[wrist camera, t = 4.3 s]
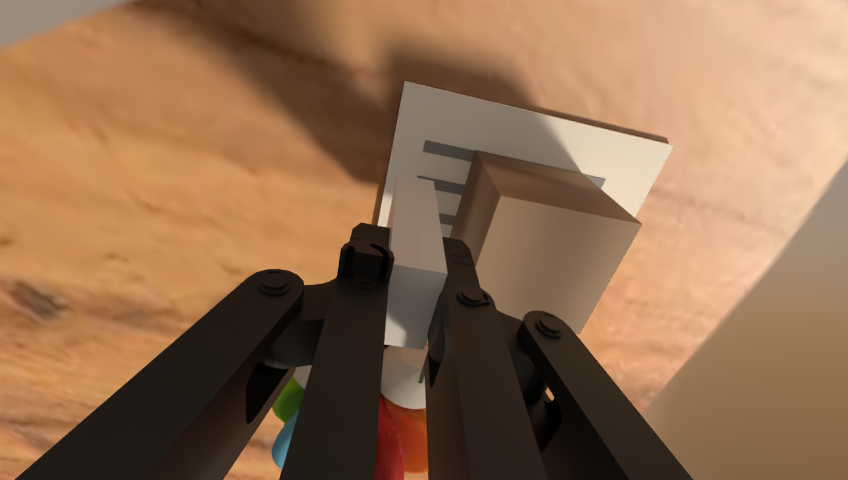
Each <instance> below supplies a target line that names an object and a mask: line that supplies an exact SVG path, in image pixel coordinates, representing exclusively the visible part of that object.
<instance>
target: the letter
mask: <svg viewBox="0 0 848 480" xmlns="http://www.w3.org/2000/svg"><path fill="white" fill-rule="evenodd" d="M673 147H674V146H673V145H671V144H668V143H664V142H660V141H655V140H651V139H647V138H643V137H639V136H635V135H630V134H626V133H622V132H618V131H614V130H609V129H605V128H601V127H597V126H593V125H588V124H584V123H580V122H576V121H572V120H568V119H563V118H559V117H555V116H551V115H547V114H542V113H538V112H534V111H530V110H526V109H521V108H517V107H513V106H509V105H505V104H500V103H496V102H492V101H488V100H484V99H480V98H475V97H471V96H467V95H463V94H459V93H454V92H450V91H446V90H442V89H438V88H433V87H429V86H425V85H421V84H417V83H413V82H408V81H405V82H404V87H403V92H402V98H401V103H400V108H399V113H398V119H397V124H396V129H395V135H394V140H393V145H392V151H391V156H390V161H389V167H388V172H387V177H386V182H385V188H384V193H383V198H382V204H381V209H380V214H379V220H378V225H377V226H382V227H387V222H388V217H389V212H390V207H391V202H392V197H393V192H394V187H395V183H396V178H397V174H401V175H406V176H411V177H416V178H421V179H426V180H431V181H434V187H435V193H436V200H437V206H438V213H439V220H440V226H441V233H442V237H447V238H449V237H450V234H451V231H452V227H453V224H454V220H455V217H456V214H457V210H458V207H459V204H460V200H461V197H462V194H463V190H464V187H465V183H466V180H467V177H468V173H469V170H470V167H471V163H472V160H473V157H474V153H475V150H479V151H483V152H488V153H493V154H497V155H502V156H506V157H511V158H516V159H520V160H525V161H529V162H534V163H538V164H543V165H548V166H552V167H557V168H561V169H566V170H571V171H575V172H580V173H583V174H584V175H585V176H586V177H587V178H589V179H590V180H591V181H592V182H593V183H594V184H596V185H597V186H598V187H599V188H600V189H601V190H603V191H604V192H605V193H606V194H607V195H608V196H610V197H611V198H612V199H613V200H614V201H616V202H617V203H618V204H619V205H620V206H621V207H623V208H624V209H625V210H626V211H627V212H628V213H630V214H631V215H632V216H633V217H634V218H635V216H636V214H637V212H638V210H639V209H640V207H641V205H642V203H643V201H644V199H645V198H646V196H647V194H648V192H649V190H650V189H651V187H652V185H653V183H654V181H655V180H656V178H657V176H658V174H659V172H660V171H661V169H662V167H663V165H664V163H665V161H666V160H667V158H668V156H669V154H670V152H671V151H672V149H673Z"/></svg>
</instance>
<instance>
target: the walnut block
mask: <svg viewBox="0 0 848 480" xmlns="http://www.w3.org/2000/svg"><path fill="white" fill-rule="evenodd" d="M641 226H642V224H641V223H640V222H639V221H638V220H637V219H635V218H634V217H633V216H632V215H631V214H630V213H628V212H627V211H626V210H625V209H624V208H623V207H621V206H620V205H619V204H618V203H617V202H616V201H614V200H613V199H612V198H611V197H610V196H608V195H607V194H606V193H605V192H604V191H603V190H601V189H600V188H599V187H598V186H597V185H596V184H594V183H593V182H592V181H591V180H590V179H589V178H587V177H586V176H585V175H584V174H583V173H580V172H575V171H571V170H566V169H561V168H557V167H552V166H548V165H543V164H538V163H534V162H529V161H525V160H520V159H516V158H511V157H506V156H502V155H497V154H493V153H488V152H483V151H479V150H475V153H474V157H473V160H472V163H471V167H470V170H469V173H468V177H467V180H466V183H465V187H464V190H463V194H462V197H461V200H460V204H459V207H458V210H457V214H456V217H455V220H454V224H453V227H452V231H451V234H450V237H449V238H452V239H458V240H463V242H464V243H465V244H466V245H467V246H468V247H469V248H470V250H471V254H472V259H473V261H474V267H475V269H476V273H477V276H478V280H479V284H480V288H481V289H483V290H485V291H486V292H487V293H488V294H489V295H490V296H491V297H492V299H493V300H494V302H495V306H496V309H497V310H498V311H500V312H502V313H504V314H507V315H509V316H512V317H514V318H517V319H520V320H523V318H524V315H525V314H527V313H528V312H529V311H534V310H538V311H545V312H548V313H551V314H553V315H555V316H557V317H558V318H560V319H561V320H563V321H564V322H565V323H566V324H567V325H568V326H569V327H570V328H571V329H572V330H573V332H574V333H575V334H580V333H581V331H582V329H583V328H584V326H585V324H586V322H587V321H588V319H589V317H590V315H591V313H592V312H593V310H594V308H595V306H596V305H597V303H598V301H599V299H600V298H601V296H602V294H603V292H604V291H605V289H606V287H607V285H608V284H609V282H610V280H611V278H612V277H613V275H614V273H615V271H616V270H617V268H618V266H619V264H620V262H621V261H622V259H623V257H624V255H625V254H626V252H627V250H628V248H629V247H630V245H631V243H632V241H633V240H634V238H635V236H636V234H637V233H638V231H639V229H640V227H641Z"/></svg>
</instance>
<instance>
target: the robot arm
mask: <svg viewBox="0 0 848 480" xmlns="http://www.w3.org/2000/svg"><path fill="white" fill-rule="evenodd" d="M427 338H428V352H427V355H426V358H425V361H424V365H423V368H422V371H421V374H420V377H419V382H418V383H421V384H422V382H423V379H424V377H425V399H426V425H427V452H428V478H429V480H693V479H692V478H691V477H690V475H689V474H688V473H687V472H686V470H685V469H684V468H683V467H682V465H681V464H680V463H679V462H678V460H677V459H676V458H675V457H674V456H673V454H672V453H671V452H670V451H669V449H668V448H667V447H666V446H665V444H664V443H663V442H662V441H661V439H660V438H659V437H658V436H657V434H656V433H655V432H654V431H653V429H652V428H651V427H650V426H649V425H648V424H647V422H646V421H645V420H644V418H643V417H642V416H641V415H640V413H639V412H638V411H637V410H636V408H635V407H634V406H633V405H632V403H631V402H630V401H629V400H628V398H627V397H626V396H625V395H624V394H623V392H622V391H621V390H620V389H619V387H618V386H617V385H616V384H615V382H614V381H613V380H612V379H611V377H610V376H609V375H608V374H607V372H606V371H605V370H604V369H603V368H602V366H601V365H600V364H599V363H598V361H597V360H596V359H595V358H594V356H593V355H592V354H591V353H590V351H589V350H588V349H587V348H586V346H585V345H584V344H583V343H582V342H581V340H580V339H579V338H578V337H577V335H576V334H575V333H574V332H573V330H572V329H571V328H570V327H569V326H568V325H567V324H566V323H565V322H564V321H563V320H561V319H560V318H558V317H557V316H555V315H553V314H551V313H548V312H545V311H538V310H534V311H529V312H528V313H527V314H525V315H524V318H523V320H520V319H517V318H514V317H512V316H509V315H507V314H504V313H502V312H500V311H498V310H497V309H496V306H495V302H494V300H493V299H492V297H491V296H490V295H489V294H488V293H487V292H486V291H485V290H483V289H481V288H480V284H479V280H478V276H477V273H476V269H475V267H474V261H473V259H472V254H471V250H470V248H469V247H468V246H467V245H466V244H465V243H464V242H463V240H458V239H452V238H447V237H442V233H441V226H440V220H439V213H438V206H437V200H436V193H435V187H434V181H431V180H426V179H421V178H416V177H411V176H406V175H401V174H397V178H396V183H395V187H394V192H393V197H392V202H391V207H390V212H389V217H388V222H387V227H382V226H377V225H371V224H366V223H360V224H359V225H357V226H356V227H355V228H353V230H352V234H351V238H350V241H349V242H348V243H346V244H344V246H343V247H342V248H341V252H340V259H339V267H338V274H337V277H336V278H335V279H333V280H331V281H330V282H326V283H323V284H316V285H304V282H303V280H302V279H301V278H300V277H299V276H298V275H297V274H294V273H292V272H290V271H286V270H281V269H267V270H263V271H260V272H256V273H255V274H253V275H251V276H250V277H248V278H247V279H246V280H245V281H243V282H242V283H241V284H240V285H239V286H238V287H237V288H235V289H234V290H233V291H232V292H231V293H230V294H228V295H227V296H226V297H225V298H224V299H223V300H222V301H220V302H219V303H218V304H217V305H216V306H215V307H213V308H212V309H211V310H210V311H209V312H208V313H207V314H205V315H204V316H203V317H202V318H201V319H200V320H198V321H197V322H196V323H195V324H194V325H193V326H192V327H190V328H189V329H188V330H187V331H186V332H185V333H183V334H182V335H181V336H180V337H179V338H178V339H177V340H175V341H174V342H173V343H172V344H171V345H170V346H168V347H167V348H166V349H165V350H164V351H163V352H161V353H160V354H159V355H158V356H157V357H156V358H155V359H153V360H152V361H151V362H150V363H149V364H148V365H146V366H145V367H144V368H143V369H142V370H141V371H140V372H138V373H137V374H136V375H135V376H134V377H133V378H131V379H130V380H129V381H128V382H127V383H126V384H125V385H123V386H122V387H121V388H120V389H119V390H118V391H116V392H115V393H114V394H113V395H112V396H111V397H110V398H108V399H107V400H106V401H105V402H104V403H103V404H101V405H100V406H99V407H98V408H97V409H96V410H95V411H93V412H92V413H91V414H90V415H89V416H88V417H86V418H85V419H84V420H83V421H82V422H81V423H80V424H78V425H77V426H76V427H75V428H74V429H73V430H71V431H70V432H69V433H68V434H67V435H66V436H65V437H63V438H62V439H61V440H60V441H59V442H58V443H56V444H55V445H54V446H53V447H52V448H51V449H50V450H48V451H47V452H46V453H45V454H44V455H43V456H41V457H40V458H39V459H38V460H37V461H36V462H35V463H33V464H32V465H31V466H30V467H29V468H28V469H26V470H25V471H24V472H23V473H22V474H21V475H20V476H18V477H17V478H16V479H15V480H223V479H224V477H225V476H226V474H227V473H228V472H229V470H230V469H231V467H232V466H233V464H234V463H235V461H236V460H237V458H238V457H239V455H240V454H241V452H242V451H243V449H244V448H245V446H246V445H247V443H248V442H249V440H250V439H251V437H252V436H253V434H254V433H255V431H256V430H257V428H258V427H259V425H260V424H261V422H262V421H263V419H264V418H265V416H266V415H267V413H268V412H269V410H270V409H271V407H272V406H273V404H274V403H275V401H276V400H277V398H278V397H279V395H280V394H281V392H282V391H283V389H284V388H285V386H286V385H287V383H288V382H289V380H290V379H291V377H292V376H293V374H294V373H295V370H296V367H302V366H310V365H312V366H311V370H310V373H309V377H308V380H307V384H306V387H305V391H304V394H303V398H302V401H301V405H300V408H299V412H298V415H297V419H296V422H295V426H294V429H293V433H292V436H291V440H290V443H289V447H288V450H287V454H286V457H285V461H284V465H283V468H282V472H281V475H280V479H279V480H374V470H375V457H376V444H377V431H378V418H379V405H380V392H381V379H382V366H383V354H384V344H385V345H392V346H399V347H406V348H413V349H420V350H424V347H425V344H426V341H427ZM547 388H549V389H550V391H551V392H552V394H553V396H554V397H555V398H554V400H553V401H552V400H551V399H550V398H549V397H548V395H547V394H546V392H545V391H546V390H547Z"/></svg>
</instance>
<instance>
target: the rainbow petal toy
mask: <svg viewBox="0 0 848 480" xmlns="http://www.w3.org/2000/svg"><path fill="white" fill-rule="evenodd" d="M427 352H428V346H426V345H425V347H424V350H420V349H413V348H406V347H399V346H392V345H390V346H388V347H387V348H386V349H385V350H384V354H383V366H382V379H381V392H380V405H379V418H378V431H377V444H376V457H375V470H374V480H404V472H407V473H413V474H420V473H425V472H428V452H427V425H426V399H425V377H424V379H423V382H422V384H421V383H418V382H419V377H420V374H421V371H422V368H423V365H424V361H425V358H426V355H427ZM311 366H312V365H310V366H302V367H296V370H295V373H294V374H293V376H292V377H291V379H290V380H289V382H288V383H287V385H286V386H285V388H284V389H283V391H282V392H281V394H280V395H279V397H278V398H277V400H276V401H275V403H274V404H273V406H272V408H273V411H274V413H275V415H276V416H277V417H278V418H279V419H280V420H281V421H283V422H285V423H284V427H283V428H282V430H281V431H280V433H279V434H278V436H277V438H276V440H275V442H274V445H273V448H272V457H273V460H274V462H275V463H276V465H277V466H278V467H280V468H283V465H284V461H285V457H286V454H287V450H288V447H289V443H290V440H291V436H292V433H293V429H294V426H295V422H296V419H297V415H298V412H299V408H300V405H301V401H302V398H303V394H304V391H305V387H306V384H307V380H308V377H309V373H310V370H311Z"/></svg>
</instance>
